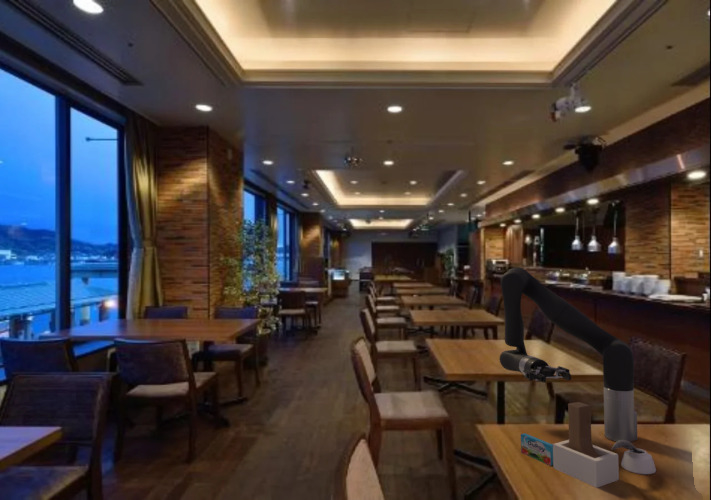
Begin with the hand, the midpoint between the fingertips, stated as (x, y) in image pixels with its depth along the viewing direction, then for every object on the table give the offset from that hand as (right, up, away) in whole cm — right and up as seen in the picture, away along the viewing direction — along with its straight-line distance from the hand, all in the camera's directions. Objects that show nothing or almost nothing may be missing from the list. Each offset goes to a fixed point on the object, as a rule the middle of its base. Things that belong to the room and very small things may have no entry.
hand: (557, 378), depth 163 cm
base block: (+1, -24, -17) cm, 29 cm away
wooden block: (+2, -22, -17) cm, 28 cm away
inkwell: (+15, -24, -16) cm, 32 cm away
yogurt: (-8, -24, -6) cm, 26 cm away
